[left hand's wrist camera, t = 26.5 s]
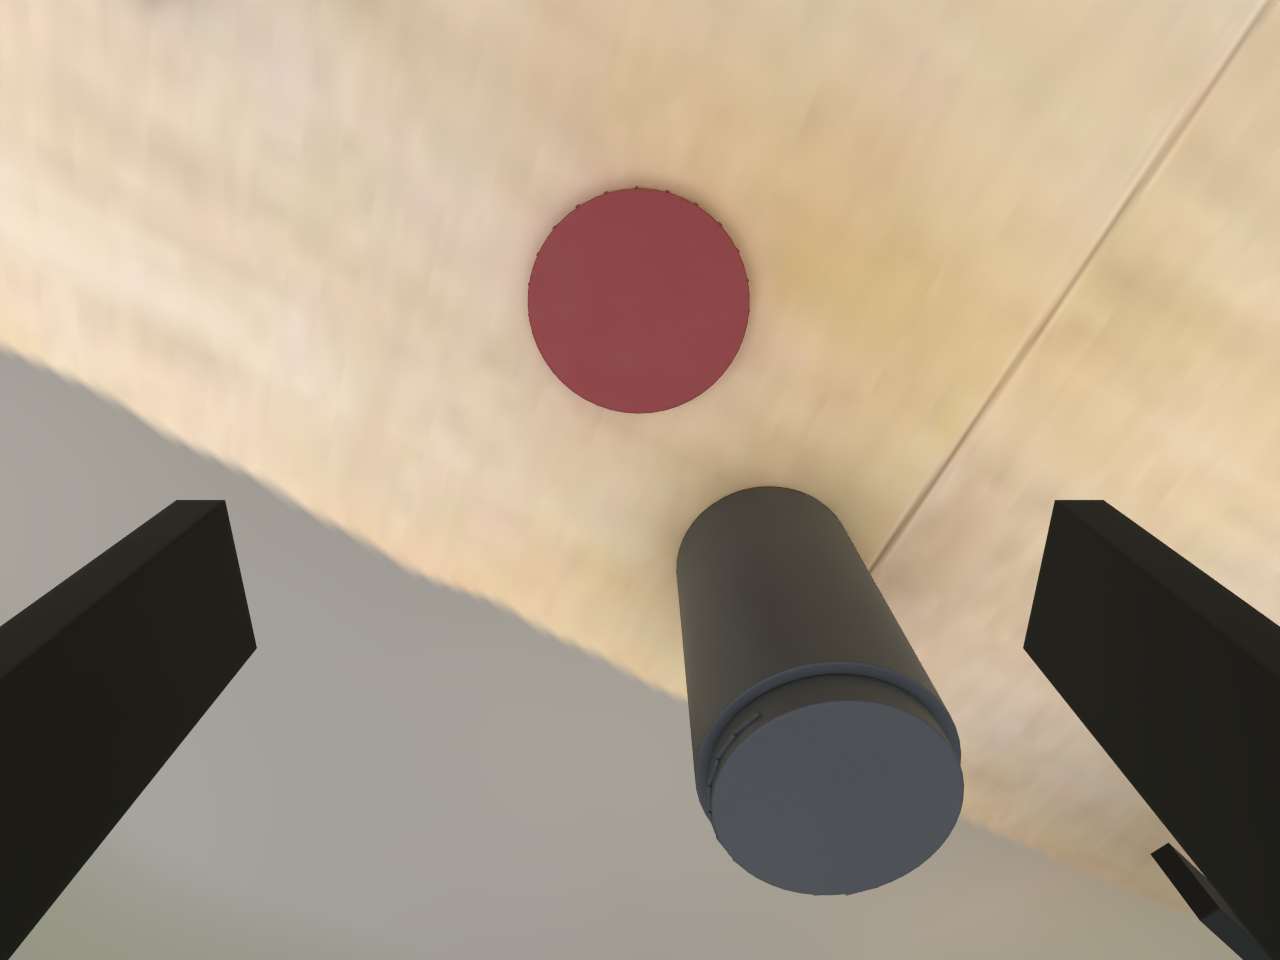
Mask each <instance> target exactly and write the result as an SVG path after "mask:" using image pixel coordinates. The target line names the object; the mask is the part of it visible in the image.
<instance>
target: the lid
mask: <svg viewBox="0 0 1280 960" xmlns="http://www.w3.org/2000/svg"><path fill="white" fill-rule="evenodd" d="M669 192H670V191H668V190H666V192H665V191H660V190H656V189H646V188H638V186H636V188H632V189H622V190H617V191H612V192H609V193H608V191H606V192H604V194H603V195H600V196H597V197H595V198H593V199H592V200H590V201H588V202H586V203H584V204H582V205H581V206H580V204H579V205H577V206H576V208H577V209H575V210H574V211H572V212H571V213H569V214H568V215H567V216H566V217H565V218H564V219H563V220H562V221H561V222H560V223H559V224H558V225H555V226H554V227H553V229H554V230H553V231H552V232H551V233H550V235H549V236H548V237H547V239H546V241H545V242H544V244H543V246H542V247H541V249H540V251H539V252H538V253H537V258H536V260H535V263H534V266H533V270H532V273H531V277H530V282H529V283H528V286H529V289H528V312H529V314H528V316H529V321H530V325H531V329H532V333H533V336H534V339H535V342H536V344H537V347H538V349H539V351H540V353H541V355H542V357H543V358H544V360H545V362H546V363H547V365H548V366H549V367H550V369H551V370H552V372H553V373H554V374H555V375H556V376H557V377H558V378H559V379H560V381H561V382H562V383H563V384H565V385H566V386H567V387H568V388H569V389H571V390H572V391H573V392H574V393H576V394H578V395H579V396H581V397H582V398H584V399H585V400H587V401H589V402H592V403H594V404H596V405H598V406H601V407H604V408H607V409H610V410H614V411H619V412H625V413H652V412H658V411H664V410H667V409H671V408H674V407H677V406H679V405H682V404H684V403H686V402H688V401H690V400H692V399H694V398H695V397H697V396H699V395H700V394H702V393H703V392H704V391H706V390H707V389H708V388H709V387H711V386H712V385H713V384H714V383H715V382H716V381H717V380H718V379H719V378H720V377H721V376H722V375H723V373H724V372H725V371H726V369H727V368H728V367H729V365H730V364H731V363H732V361H733V359H734V357H735V356H736V354H737V352H738V350H739V348H740V345H741V343H742V341H743V338H744V334H745V331H746V327H747V323H748V315H749V312H750V310H749V287H748V282H749V281H748V279H747V276H746V272H745V268H744V265H743V262H742V260H741V257H740V255H739V250H738V249H737V248H736V247H735V245H734V243H733V242H732V240H731V238H730V237H729V236H728V234H727V233H726V232H725V230H724V229H723V228H722V227H721V226H722V224H721V223H719V222H718V223H717V222H716V221H715V220H714V219H713V218H712V217H711V216H710V215H709V214H708V213H706V212H705V211H704V210H702V209H701V208H700V207H698V204H697V203H694V204H693V203H692V202H690V201H688V200H686V199H684V198H682V197H680V196H677V195H674V194H672V193H669Z"/></svg>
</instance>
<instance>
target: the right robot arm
mask: <svg viewBox="0 0 1280 960" xmlns="http://www.w3.org/2000/svg"><path fill="white" fill-rule="evenodd" d="M1151 855H1152V857H1153V858H1154V859H1155V861H1156V862H1157V863H1158V865H1159V866H1160V867H1161V869H1162V870H1163V871H1164V873H1165V874H1166V875H1167V877H1168V878H1169V879H1170V881H1171V882H1172V883H1173V885H1174V886H1175V888H1176V889H1177V890H1178V892H1179V893H1180V894H1181V896H1182V897H1183V898H1184V900H1185V901H1186V902H1187V904H1188V905H1189V906H1190V908H1191V909H1192V910H1193V912H1194V913H1195V914H1196V916H1197V917H1198V918H1199V920H1200V921H1201V922H1202V923H1203V924H1204V925H1206V926H1207V927H1208V928H1209V929H1210V930H1211V931H1212V932H1213V933H1214V934H1215V935H1217V936H1218V937H1219V938H1220V939H1221V940H1222V941H1223V942H1224V943H1225V944H1226V945H1228V946H1229V947H1230V948H1231V949H1232V950H1233V951H1234V952H1235V953H1236V954H1237V955H1239V956H1240V957H1241V958H1242V959H1243V960H1272V959H1271V958H1270V957H1269V956H1268V954H1267V953H1266V952H1265V951H1264V949H1263V948H1262V947H1261V946H1260V944H1259V943H1258V942H1257V941H1256V939H1255V938H1254V937H1253V936H1252V934H1251V933H1250V932H1249V931H1248V929H1247V928H1246V927H1245V925H1244V924H1243V923H1242V922H1241V920H1240V919H1239V918H1238V917H1237V915H1236V914H1235V913H1234V912H1233V910H1232V909H1231V908H1230V907H1229V905H1228V904H1227V903H1226V902H1225V900H1224V899H1223V898H1222V897H1221V895H1220V894H1219V893H1218V892H1217V890H1216V889H1215V888H1214V887H1213V885H1212V884H1211V883H1210V882H1209V880H1208V879H1207V878H1206V877H1205V876H1203V875H1202V874H1201V873H1200V872H1199V871H1198V870H1197V869H1196V868H1195V867H1194V866H1193V865H1192V864H1191V863H1190V862H1189V861H1187V860H1186V859H1185V858H1184V857H1183V856H1182V855H1181V854H1180V853H1179V852H1178V851H1177V850H1176V849H1175V848H1174V847H1173V846H1171V845H1170V844H1169V843H1167V844H1166V845H1164V846H1163V847H1161V848H1159V849H1158V850H1156V851H1155V852H1153V853H1151Z"/></svg>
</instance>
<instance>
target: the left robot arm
mask: <svg viewBox="0 0 1280 960" xmlns="http://www.w3.org/2000/svg"><path fill="white" fill-rule="evenodd" d="M256 648H257V647H256V642H255V637H254V633H253V628H252V623H251V619H250V614H249V610H248V605H247V600H246V596H245V591H244V586H243V582H242V577H241V572H240V568H239V563H238V558H237V554H236V549H235V544H234V540H233V535H232V531H231V526H230V521H229V516H228V512H227V507H226V503H225V500H176V501H175V502H173V503H172V504H171V505H169V506H168V507H166V508H165V509H164V510H162V511H161V512H159V513H158V514H157V515H155V516H154V517H152V518H151V519H150V520H148V521H147V522H145V523H144V524H143V525H141V526H140V527H138V528H137V529H136V530H134V531H133V532H131V533H130V534H129V535H127V536H126V537H124V538H123V539H122V540H120V541H119V542H118V543H116V544H115V545H113V546H112V547H111V548H109V549H108V550H106V551H105V552H104V553H102V554H101V555H99V556H98V557H97V558H95V559H94V560H92V561H91V562H90V563H88V564H87V565H86V566H84V567H83V568H81V569H80V570H79V571H77V572H76V573H74V574H73V575H72V576H70V577H69V578H67V579H66V580H65V581H63V582H62V583H60V584H59V585H58V586H56V587H55V588H53V589H52V590H51V591H49V592H48V593H46V594H45V595H44V596H42V597H41V598H39V599H38V600H37V601H35V602H34V603H33V604H31V605H30V606H28V607H27V608H26V609H24V610H23V611H21V612H20V613H19V614H17V615H16V616H14V617H13V618H12V619H10V620H9V621H7V622H6V623H5V624H3V625H2V626H0V960H8V959H9V958H10V957H11V956H12V954H13V953H14V952H15V951H16V949H17V948H18V947H19V946H20V944H21V943H22V942H23V941H24V939H25V938H26V937H27V935H28V934H29V933H30V932H31V931H32V929H33V928H34V927H35V925H36V924H37V923H38V922H39V920H40V919H41V918H42V917H43V915H44V914H45V913H46V912H47V910H48V909H49V908H50V907H51V905H52V904H53V903H54V902H55V900H56V899H57V898H58V897H59V895H60V894H61V893H62V892H63V890H64V889H65V888H66V887H67V885H68V884H69V883H70V882H71V880H72V879H73V878H74V877H75V875H76V874H77V873H78V872H79V870H80V869H81V868H82V867H83V865H84V864H85V863H86V861H87V860H88V859H89V858H90V857H91V855H92V854H93V853H94V851H95V850H96V849H97V848H98V846H99V845H100V844H101V843H102V841H103V840H104V839H105V838H106V836H107V835H108V834H109V833H110V831H111V830H112V829H113V828H114V826H115V825H116V824H117V823H118V821H119V820H120V819H121V818H122V816H123V815H124V814H125V813H126V811H127V810H128V809H129V808H130V806H131V805H132V804H133V803H134V801H135V800H136V799H137V798H138V796H139V795H140V794H141V793H142V791H143V790H144V789H145V787H146V786H147V785H148V784H149V783H150V781H151V780H152V779H153V778H154V776H155V775H156V774H157V772H158V771H159V770H160V769H161V768H162V766H163V765H164V764H165V762H166V761H167V760H168V759H169V758H170V756H171V755H172V754H173V752H174V751H175V750H176V749H177V747H178V746H179V745H180V744H181V742H182V741H183V740H184V739H185V737H186V736H187V735H188V734H189V732H190V731H191V730H192V729H193V727H194V726H195V725H196V724H197V722H198V721H199V720H200V719H201V717H202V716H203V715H204V714H205V712H206V711H207V710H208V709H209V707H210V706H211V705H212V704H213V702H214V701H215V700H216V699H217V697H218V696H219V695H220V694H221V692H222V691H223V690H224V689H225V687H226V686H227V685H228V684H229V682H230V681H231V680H232V679H233V677H234V676H235V675H236V674H237V672H238V671H239V670H240V668H241V667H242V666H243V665H244V663H245V662H246V661H247V660H248V658H249V657H250V656H251V655H252V653H253V652H254V651H255V650H256ZM1023 648H1024V650H1025V651H1026V652H1027V653H1028V655H1029V656H1030V657H1031V658H1032V660H1033V661H1034V662H1035V663H1036V665H1037V666H1038V667H1039V669H1040V670H1041V671H1042V672H1043V674H1044V675H1045V676H1046V677H1047V679H1048V680H1049V681H1050V682H1051V684H1052V685H1053V686H1054V687H1055V689H1056V690H1057V691H1058V692H1059V694H1060V695H1061V696H1062V697H1063V699H1064V700H1065V701H1066V702H1067V704H1068V705H1069V706H1070V707H1071V709H1072V710H1073V711H1074V712H1075V714H1076V715H1077V716H1078V717H1079V719H1080V720H1081V721H1082V722H1083V724H1084V725H1085V726H1086V727H1087V729H1088V730H1089V731H1090V732H1091V734H1092V735H1093V736H1094V737H1095V739H1096V740H1097V741H1098V742H1099V744H1100V745H1101V746H1102V747H1103V749H1104V750H1105V751H1106V752H1107V754H1108V755H1109V756H1110V758H1111V759H1112V760H1113V761H1114V763H1115V764H1116V765H1117V766H1118V768H1119V769H1120V770H1121V771H1122V773H1123V774H1124V775H1125V776H1126V778H1127V779H1128V780H1129V781H1130V783H1131V784H1132V785H1133V786H1134V788H1135V789H1136V790H1137V791H1138V793H1139V794H1140V795H1141V796H1142V798H1143V799H1144V800H1145V801H1146V803H1147V804H1148V805H1149V806H1150V808H1151V809H1152V810H1153V811H1154V813H1155V814H1156V815H1157V816H1158V818H1159V819H1160V820H1161V821H1162V823H1163V824H1164V825H1165V826H1166V828H1167V829H1168V830H1169V831H1170V833H1171V834H1172V835H1173V836H1174V838H1175V839H1176V840H1177V841H1178V843H1179V844H1180V845H1181V847H1182V848H1183V849H1184V850H1185V852H1186V853H1187V854H1188V855H1189V857H1190V858H1191V859H1192V860H1193V862H1194V863H1195V864H1196V865H1197V867H1198V868H1199V869H1200V870H1201V872H1202V873H1203V874H1204V875H1205V877H1206V878H1207V879H1208V880H1209V882H1210V883H1211V884H1212V885H1213V887H1214V888H1215V889H1216V890H1217V892H1218V893H1219V894H1220V895H1221V897H1222V898H1223V899H1224V900H1225V902H1226V903H1227V904H1228V905H1229V907H1230V908H1231V909H1232V910H1233V912H1234V913H1235V914H1236V915H1237V917H1238V918H1239V919H1240V920H1241V922H1242V923H1243V924H1244V925H1245V927H1246V928H1247V929H1248V931H1249V932H1250V933H1251V934H1252V936H1253V937H1254V938H1255V939H1256V941H1257V942H1258V943H1259V944H1260V946H1261V947H1262V948H1263V949H1264V951H1265V952H1266V953H1267V954H1268V956H1269V957H1270V958H1271V959H1272V960H1280V626H1278V625H1277V624H1275V623H1274V622H1273V621H1271V620H1270V619H1268V618H1267V617H1266V616H1264V615H1263V614H1261V613H1260V612H1259V611H1257V610H1256V609H1254V608H1253V607H1252V606H1250V605H1249V604H1248V603H1246V602H1245V601H1243V600H1242V599H1241V598H1239V597H1238V596H1236V595H1235V594H1234V593H1232V592H1231V591H1229V590H1228V589H1227V588H1225V587H1224V586H1222V585H1221V584H1220V583H1218V582H1217V581H1215V580H1214V579H1213V578H1211V577H1210V576H1208V575H1207V574H1206V573H1204V572H1203V571H1202V570H1200V569H1199V568H1197V567H1196V566H1195V565H1193V564H1192V563H1190V562H1189V561H1188V560H1186V559H1185V558H1183V557H1182V556H1181V555H1179V554H1178V553H1176V552H1175V551H1174V550H1172V549H1171V548H1169V547H1168V546H1167V545H1165V544H1164V543H1162V542H1161V541H1160V540H1158V539H1157V538H1156V537H1154V536H1153V535H1151V534H1150V533H1149V532H1147V531H1146V530H1144V529H1143V528H1142V527H1140V526H1139V525H1137V524H1136V523H1135V522H1133V521H1132V520H1130V519H1129V518H1128V517H1126V516H1125V515H1123V514H1122V513H1121V512H1119V511H1118V510H1116V509H1115V508H1114V507H1112V506H1111V505H1110V504H1108V503H1107V502H1105V501H1104V500H1055V503H1054V507H1053V512H1052V516H1051V521H1050V526H1049V530H1048V535H1047V540H1046V544H1045V549H1044V554H1043V558H1042V563H1041V568H1040V572H1039V577H1038V582H1037V586H1036V591H1035V596H1034V600H1033V605H1032V609H1031V614H1030V619H1029V623H1028V628H1027V633H1026V637H1025V642H1024V647H1023Z"/></svg>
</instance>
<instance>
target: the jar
mask: <svg viewBox="0 0 1280 960" xmlns="http://www.w3.org/2000/svg"><path fill="white" fill-rule="evenodd" d="M676 572H677V583H678V594H679V605H680V616H681V627H682V638H683V649H684V660H685V671H686V682H687V693H688V705H689V716H690V727H691V738H692V749H693V759H694V771H695V781H696V790H697V794H698V797H699V801H700V804H701V806H702V808H703V810H704V812H705V814H706V816H707V817H708V819H709V820H710V822H711V824H712V826H713V829H714V832H715V834H716V838H717V840H718V841H719V842H720V843H721V845H722V846H723V847H724V848H725V849H726V851H727V852H728V854H729V855H730V856H731V857H732V858H733V861H735V862H736V863H737V864H738V865H740V866H741V867H742V868H743V869H745V870H746V871H747V872H748V873H750V874H752V875H753V876H755V877H756V878H758V879H760V880H762V881H764V882H766V883H768V884H770V885H773V886H776V887H779V888H782V889H784V890H789V891H793V892H798V893H803V894H812V895H840V894H846V895H850V894H854V893H858V892H862V891H866V890H869V889H873V888H877V887H879V886H882V885H884V884H887V883H889V882H892V881H894V880H896V879H898V878H900V877H902V876H904V875H906V874H908V873H909V872H911V871H912V870H914V869H915V868H917V867H919V866H920V865H921V864H922V863H924V862H925V861H926V860H927V859H929V858H930V857H931V856H932V855H933V854H934V853H935V852H936V851H937V850H938V849H939V848H940V847H941V845H942V844H943V843H944V841H945V840H946V839H947V838H948V836H949V835H950V833H951V831H952V829H953V828H954V826H955V824H956V822H957V819H958V816H959V814H960V811H961V806H962V802H963V792H964V782H963V774H962V770H961V766H960V762H961V749H960V741H959V737H958V733H957V730H956V726H955V724H954V722H953V720H952V718H951V716H950V714H949V712H948V711H947V709H946V707H945V705H944V703H943V702H942V700H941V698H940V696H939V695H938V693H937V691H936V689H935V688H934V686H933V684H932V682H931V681H930V679H929V677H928V675H927V673H926V672H925V670H924V668H923V666H922V665H921V663H920V661H919V659H918V658H917V656H916V654H915V652H914V651H913V649H912V647H911V645H910V643H909V642H908V640H907V638H906V636H905V635H904V633H903V631H902V629H901V628H900V626H899V624H898V622H897V621H896V619H895V617H894V615H893V613H892V612H891V610H890V608H889V606H888V605H887V603H886V601H885V599H884V598H883V596H882V594H881V592H880V591H879V589H878V587H877V585H876V583H875V582H874V580H873V578H872V576H871V575H870V573H869V571H868V569H867V568H866V566H865V564H864V562H863V560H862V559H861V557H860V555H859V553H858V552H857V550H856V548H855V546H854V545H853V543H852V541H851V539H850V538H849V536H848V534H847V532H846V530H845V529H844V527H843V525H842V524H841V522H840V521H839V519H838V518H837V517H836V516H835V514H834V513H833V512H832V511H831V510H830V509H829V508H827V507H826V506H825V505H824V504H822V503H821V502H820V501H818V500H816V499H815V498H813V497H811V496H809V495H807V494H804V493H802V492H799V491H795V490H792V489H787V488H780V487H759V488H751V489H747V490H743V491H739V492H737V493H734V494H731V495H729V496H727V497H725V498H723V499H721V500H719V501H717V502H716V503H714V504H713V505H711V506H710V507H709V508H707V509H706V510H705V511H704V512H703V513H702V514H701V515H700V516H699V517H698V518H697V519H696V520H695V521H694V522H693V524H692V525H691V527H690V528H689V530H688V531H687V533H686V535H685V537H684V539H683V541H682V543H681V546H680V549H679V553H678V558H677V571H676Z"/></svg>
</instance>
